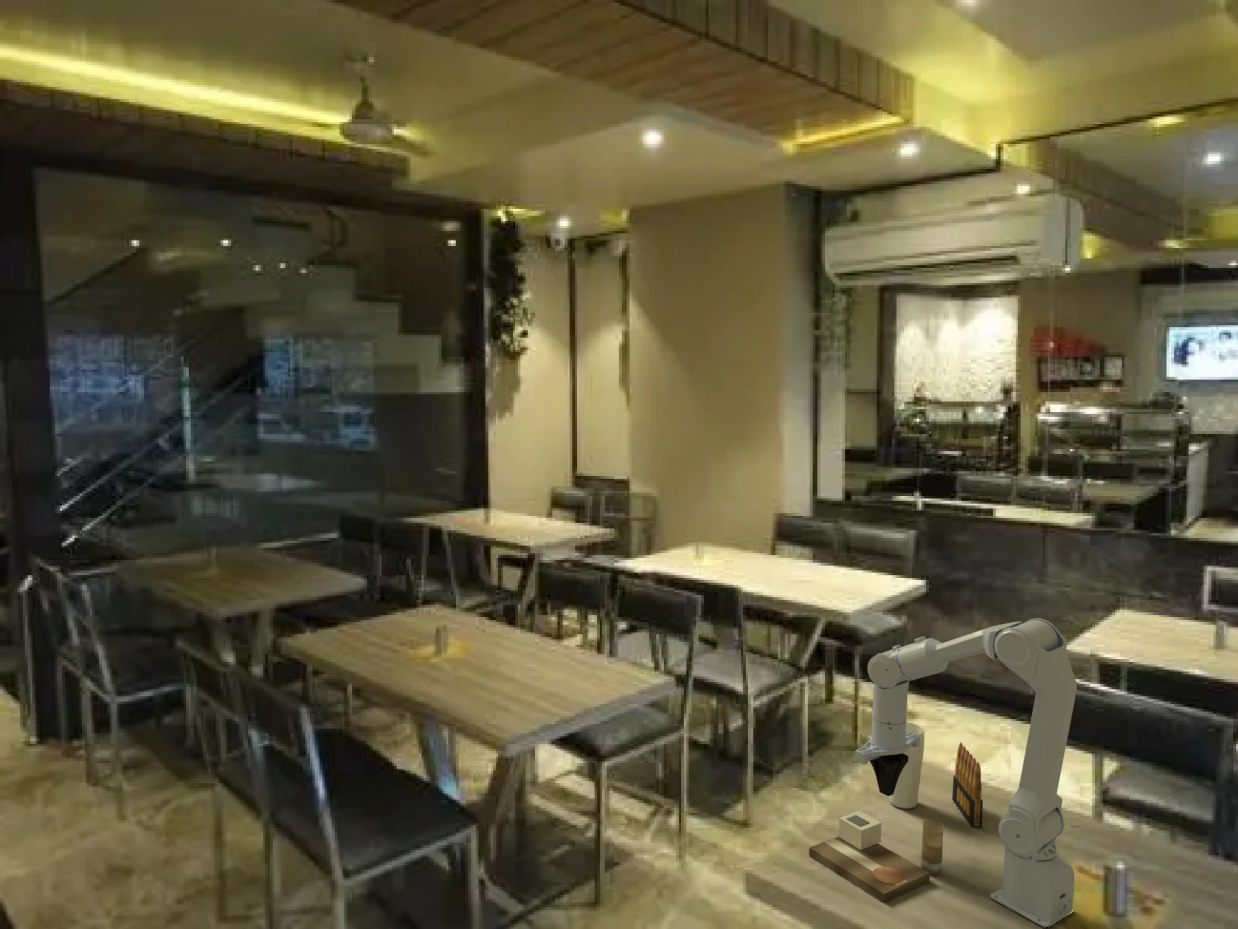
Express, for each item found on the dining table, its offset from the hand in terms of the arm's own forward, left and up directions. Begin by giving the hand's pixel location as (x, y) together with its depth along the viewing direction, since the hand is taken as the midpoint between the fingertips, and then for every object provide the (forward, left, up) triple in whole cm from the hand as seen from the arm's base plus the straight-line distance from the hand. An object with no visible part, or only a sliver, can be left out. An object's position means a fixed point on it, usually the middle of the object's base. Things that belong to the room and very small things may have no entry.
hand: (886, 793), depth 156 cm
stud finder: (0, +6, -7) cm, 9 cm away
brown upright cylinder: (-11, +1, -8) cm, 14 cm away
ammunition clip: (-2, -21, -9) cm, 22 cm away
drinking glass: (+7, -14, -9) cm, 17 cm away
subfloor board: (-5, +10, -8) cm, 14 cm away
